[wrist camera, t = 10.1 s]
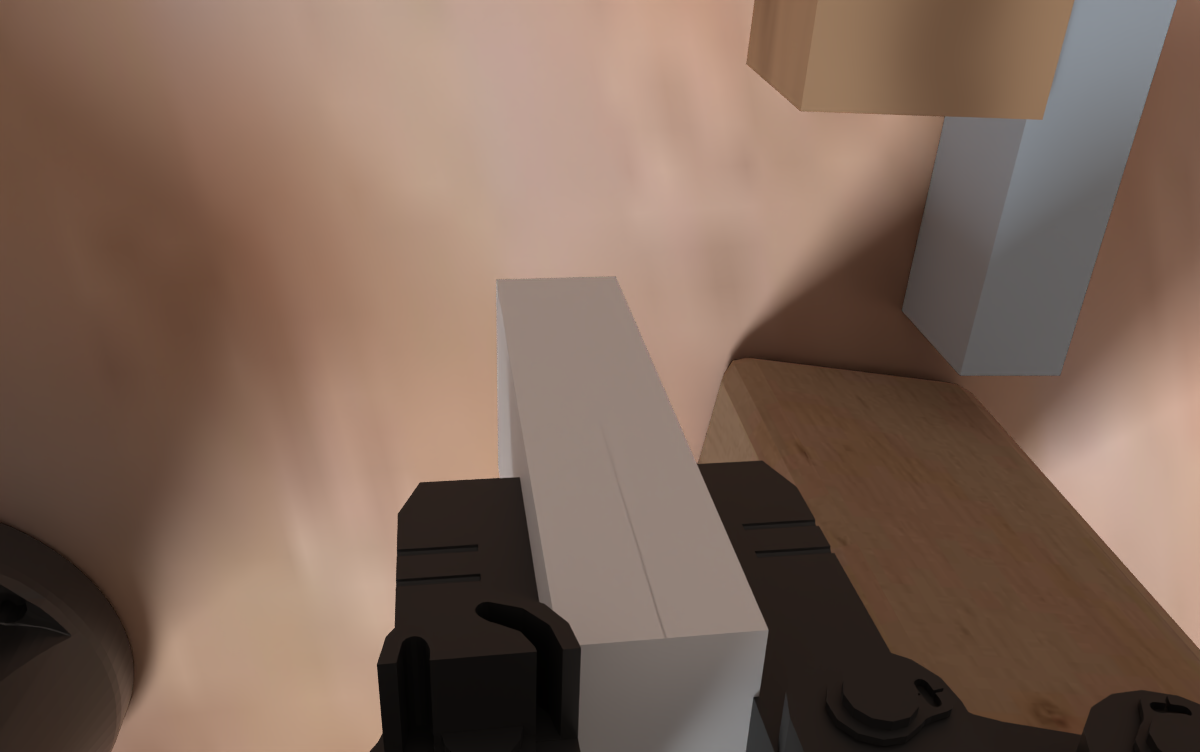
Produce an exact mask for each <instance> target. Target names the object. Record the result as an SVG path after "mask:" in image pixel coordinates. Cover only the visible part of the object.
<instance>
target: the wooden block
mask: <svg viewBox="0 0 1200 752" xmlns="http://www.w3.org/2000/svg"><path fill="white" fill-rule="evenodd" d="M761 460H762V461H764V462H765V463H766V464H768V465H769V466H770V467H771V468H773V469H774V470H775V471H777V472H778V473H779V474H781V475H782V476H783V477H785V478H786V479H787V480H788V481H790V482H791V483H792V484H794V485H795V486H796V487H797V488H798V490H799V491H800V493H801V495H802V497H803V498H804V500H805V502H806V504H807V505H808V507H809V509H810V511H811V513H812V514H813V516H814V518H815V524H816V526H819V527H820V528H821V530H822V532H823V534H824V535H825V537H826V539H827V541H828V542H829V544H830V550H831V553H835V555H836V557H837V558H838V560H839V562H840V564H841V565H842V567H843V569H844V571H845V572H846V574H847V576H848V578H849V579H850V581H851V583H852V585H853V587H854V588H855V590H856V592H857V594H858V595H859V597H860V599H861V601H862V602H863V604H864V606H865V608H866V609H867V611H868V613H869V615H870V616H871V618H872V620H873V622H874V624H875V625H876V627H877V629H878V631H879V632H880V634H881V636H882V638H883V639H884V641H885V643H886V645H887V646H888V648H889V650H890V652H891V653H893V654H896V655H899V656H903V657H906V658H909V659H912V660H913V661H915V662H917V663H918V664H920V665H921V666H923V667H925V668H926V669H928V670H929V671H931V672H933V673H934V674H936V675H937V676H939V677H941V678H942V680H943V681H944V682H945V683H946V684H947V685H948V686H949V687H950V689H951V690H952V691H953V692H954V693H955V694H956V695H957V696H958V698H959V699H960V700H961V701H962V702H963V704H964V706H965V707H966V709H967V710H968V712H970V713H972V714H974V715H978V716H982V717H986V718H990V719H994V720H998V721H1002V722H1008V723H1014V724H1020V725H1026V726H1032V727H1038V728H1044V729H1050V730H1056V731H1062V732H1068V733H1074V734H1080V735H1082V732H1083V729H1084V726H1085V723H1086V720H1087V718H1088V715H1089V712H1090V709H1091V707H1092V706H1094V705H1095V704H1097V703H1098V702H1100V701H1101V700H1103V699H1105V698H1106V697H1108V696H1109V695H1111V694H1114V693H1122V692H1130V691H1137V690H1146V691H1152V692H1158V693H1165V694H1171V695H1177V696H1181V697H1183V698H1186V699H1188V700H1191V701H1193V702H1196V703H1198V704H1200V649H1199V648H1198V647H1197V646H1196V645H1195V644H1194V643H1193V641H1192V640H1191V639H1190V638H1189V637H1188V636H1187V635H1186V634H1185V632H1184V631H1183V630H1182V629H1181V628H1180V627H1179V626H1178V625H1177V623H1176V622H1175V621H1174V620H1173V619H1172V618H1171V617H1170V616H1169V614H1168V613H1167V612H1166V611H1165V610H1164V609H1163V608H1162V607H1161V605H1160V604H1159V603H1158V602H1157V601H1156V600H1155V599H1154V598H1153V596H1152V595H1151V594H1150V593H1149V592H1148V591H1147V590H1146V589H1145V587H1144V586H1143V585H1142V584H1141V583H1140V582H1139V581H1138V580H1137V578H1136V577H1135V576H1134V575H1133V574H1132V573H1131V572H1130V571H1129V569H1128V568H1127V567H1126V566H1125V565H1124V564H1123V563H1122V562H1121V560H1120V559H1119V558H1118V557H1117V556H1116V555H1115V554H1114V553H1113V551H1112V550H1111V549H1110V548H1109V547H1108V546H1107V545H1106V544H1105V542H1104V541H1103V540H1102V539H1101V538H1100V537H1099V536H1098V535H1097V533H1096V532H1095V531H1094V530H1093V529H1092V528H1091V527H1090V526H1089V524H1088V523H1087V522H1086V521H1085V520H1084V519H1083V518H1082V517H1081V515H1080V514H1079V513H1078V512H1077V511H1076V510H1075V509H1074V508H1073V506H1072V505H1071V504H1070V503H1069V502H1068V501H1067V500H1066V499H1065V497H1064V496H1063V495H1062V494H1061V493H1060V492H1059V491H1058V490H1057V488H1056V487H1055V486H1054V485H1053V484H1052V483H1051V482H1050V481H1049V479H1048V478H1047V477H1046V476H1045V475H1044V474H1043V473H1042V472H1041V470H1040V469H1039V468H1038V467H1037V466H1036V465H1035V464H1034V463H1033V461H1032V460H1031V459H1030V458H1029V457H1028V456H1027V455H1026V454H1025V452H1024V451H1023V450H1022V449H1021V448H1020V447H1019V446H1018V445H1017V443H1016V442H1015V441H1014V440H1013V439H1012V438H1011V437H1010V436H1009V434H1008V433H1007V432H1006V431H1005V430H1004V429H1003V428H1002V427H1001V425H1000V424H999V423H998V422H997V421H996V420H995V419H994V418H993V416H992V415H991V414H990V413H989V412H988V411H987V410H986V409H985V407H984V406H983V405H982V404H981V403H980V402H979V401H978V400H977V398H976V397H975V396H974V395H973V394H972V393H971V392H969V391H967V390H966V389H964V388H963V387H961V386H959V385H958V384H953V383H948V382H941V381H933V380H925V379H917V378H909V377H901V376H893V375H885V374H877V373H869V372H860V371H852V370H844V369H836V368H828V367H820V366H812V365H804V364H796V363H788V362H780V361H772V360H764V359H755V358H743V359H738V360H733V361H732V363H731V364H730V366H729V367H728V369H727V370H726V371H725V373H724V376H723V379H722V381H721V385H720V388H719V392H718V395H717V399H716V402H715V406H714V409H713V413H712V417H711V420H710V424H709V427H708V431H707V434H706V438H705V441H704V445H703V448H702V452H701V455H700V459H699V462H698V464H706V463H724V462H743V461H761Z"/></svg>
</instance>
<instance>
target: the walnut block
mask: <svg viewBox="0 0 1200 752" xmlns="http://www.w3.org/2000/svg"><path fill="white" fill-rule="evenodd" d="M1073 4H1074V0H755V1H754V9H753V17H752V24H751V32H750V40H749V48H748V55H747V63H746V64H747V65H748V66H749V67H751V68H752V69H753V70H754V71H755V72H756V73H757V74H759V75H760V76H761V77H762V78H763V79H764V80H765V81H767V82H768V83H769V84H770V85H771V86H772V87H773V88H775V89H776V90H777V91H778V92H779V93H780V94H781V95H783V96H784V97H785V98H786V99H787V100H788V101H789V102H791V103H792V104H793V105H794V106H795V107H796V108H797V109H799V110H800V111H807V112H835V113H864V114H892V115H920V116H948V117H976V118H1004V119H1032V120H1043V116H1044V112H1045V108H1046V105H1047V101H1048V97H1049V93H1050V90H1051V86H1052V82H1053V79H1054V75H1055V71H1056V67H1057V64H1058V60H1059V56H1060V52H1061V49H1062V45H1063V41H1064V37H1065V34H1066V30H1067V26H1068V22H1069V19H1070V15H1071V11H1072V7H1073Z"/></svg>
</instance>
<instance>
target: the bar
mask: <svg viewBox="0 0 1200 752" xmlns="http://www.w3.org/2000/svg"><path fill="white" fill-rule="evenodd" d="M1176 2H1177V0H1074V4H1073V7H1072V11H1071V15H1070V19H1069V22H1068V26H1067V30H1066V34H1065V37H1064V41H1063V45H1062V49H1061V52H1060V56H1059V60H1058V64H1057V67H1056V71H1055V75H1054V79H1053V82H1052V86H1051V90H1050V93H1049V97H1048V101H1047V105H1046V108H1045V112H1044V116H1043V120H1032V119H1004V118H976V117H948V116H945V119H944V123H943V128H942V132H941V137H940V141H939V146H938V150H937V155H936V159H935V164H934V168H933V173H932V177H931V182H930V186H929V191H928V195H927V200H926V204H925V209H924V213H923V217H922V222H921V226H920V231H919V235H918V240H917V244H916V249H915V253H914V258H913V262H912V267H911V271H910V276H909V280H908V285H907V289H906V294H905V298H904V303H903V307H902V311H903V313H904V314H905V315H906V316H907V317H908V318H909V319H910V320H911V322H912V323H913V324H914V325H915V326H916V327H917V328H918V329H919V330H920V332H921V333H922V334H923V335H924V336H925V337H926V338H927V339H928V341H929V342H930V343H931V344H932V345H933V346H934V347H935V348H936V349H937V351H938V352H939V353H940V354H941V355H942V356H943V357H944V358H945V360H946V361H947V362H948V363H949V364H950V365H951V366H952V367H953V368H954V370H955V371H956V372H957V373H958V374H959V375H960V376H1060V374H1061V371H1062V368H1063V365H1064V361H1065V358H1066V355H1067V352H1068V348H1069V345H1070V342H1071V339H1072V336H1073V332H1074V329H1075V326H1076V323H1077V320H1078V316H1079V313H1080V310H1081V307H1082V304H1083V300H1084V297H1085V294H1086V291H1087V288H1088V284H1089V281H1090V278H1091V275H1092V271H1093V268H1094V265H1095V262H1096V259H1097V255H1098V252H1099V249H1100V246H1101V243H1102V239H1103V236H1104V233H1105V230H1106V227H1107V223H1108V220H1109V217H1110V214H1111V211H1112V207H1113V204H1114V201H1115V198H1116V195H1117V191H1118V188H1119V185H1120V182H1121V178H1122V175H1123V172H1124V169H1125V166H1126V162H1127V159H1128V156H1129V153H1130V150H1131V146H1132V143H1133V140H1134V137H1135V134H1136V130H1137V127H1138V124H1139V121H1140V118H1141V114H1142V111H1143V108H1144V105H1145V101H1146V98H1147V95H1148V92H1149V89H1150V85H1151V82H1152V79H1153V76H1154V73H1155V69H1156V66H1157V63H1158V60H1159V57H1160V53H1161V50H1162V47H1163V44H1164V41H1165V37H1166V34H1167V31H1168V28H1169V25H1170V21H1171V18H1172V15H1173V12H1174V8H1175V5H1176Z"/></svg>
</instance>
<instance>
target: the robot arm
mask: <svg viewBox="0 0 1200 752" xmlns="http://www.w3.org/2000/svg"><path fill="white" fill-rule="evenodd" d="M496 306H497V392H498V467H499V475H500V478H493V479H475V480H457V481H438V482H420V483H419V485H418V486H417V488H416V489H415V490H414V492H413V493H412V495H411V496H410V498H409V499H408V500H407V502H406V503H405V505H404V506H403V508H402V509H401V510H400V512H399V513H398V530H397V567H396V603H395V628H394V629H393V630H392V631H391V632H390V633H389V634H388V635H387V636H386V638H385V641H384V645H383V648H382V651H381V654H380V657H379V660H378V663H377V670H378V682H379V694H380V706H381V718H382V730H383V734H382V735H381V737H380V739H379V741H378V743H377V744H376V745H375V746H374V747H373V748H372V750H371V751H370V752H1200V704H1198V703H1196V702H1193V701H1191V700H1188V699H1186V698H1183V697H1181V696H1177V695H1171V694H1165V693H1158V692H1152V691H1146V690H1137V691H1130V692H1122V693H1114V694H1111V695H1109V696H1108V697H1106V698H1105V699H1103V700H1101V701H1100V702H1098V703H1097V704H1095V705H1094V706H1092V707H1091V709H1090V712H1089V715H1088V718H1087V720H1086V723H1085V726H1084V729H1083V732H1082V735H1080V734H1074V733H1068V732H1062V731H1056V730H1050V729H1044V728H1038V727H1032V726H1026V725H1020V724H1014V723H1008V722H1002V721H998V720H994V719H990V718H986V717H982V716H978V715H974V714H972V713H970V712H968V710H967V709H966V707H965V706H964V704H963V702H962V701H961V700H960V699H959V698H958V696H957V695H956V694H955V693H954V692H953V691H952V690H951V689H950V687H949V686H948V685H947V684H946V683H945V682H944V681H943V680H942V678H941V677H939V676H937V675H936V674H934V673H933V672H931V671H929V670H928V669H926V668H925V667H923V666H921V665H920V664H918V663H917V662H915V661H913V660H912V659H909V658H906V657H903V656H899V655H896V654H893V653H891V652H890V650H889V648H888V646H887V645H886V643H885V641H884V639H883V638H882V636H881V634H880V632H879V631H878V629H877V627H876V625H875V624H874V622H873V620H872V618H871V616H870V615H869V613H868V611H867V609H866V608H865V606H864V604H863V602H862V601H861V599H860V597H859V595H858V594H857V592H856V590H855V588H854V587H853V585H852V583H851V581H850V579H849V578H848V576H847V574H846V572H845V571H844V569H843V567H842V565H841V564H840V562H839V560H838V558H837V557H836V555H835V553H831V550H830V544H829V542H828V541H827V539H826V537H825V535H824V534H823V532H822V530H821V528H820V527H819V526H816V524H815V518H814V516H813V514H812V513H811V511H810V509H809V507H808V505H807V504H806V502H805V500H804V498H803V497H802V495H801V493H800V491H799V490H798V488H797V487H796V486H795V485H794V484H792V483H791V482H790V481H788V480H787V479H786V478H785V477H783V476H782V475H781V474H779V473H778V472H777V471H775V470H774V469H773V468H771V467H770V466H769V465H768V464H766V463H765V462H764V461H762V460H761V461H743V462H724V463H706V464H697V463H696V461H695V459H694V456H693V454H692V452H691V450H690V447H689V445H688V443H687V440H686V438H685V436H684V433H683V431H682V429H681V426H680V424H679V422H678V419H677V417H676V415H675V413H674V410H673V408H672V406H671V403H670V401H669V399H668V396H667V394H666V392H665V389H664V387H663V385H662V383H661V380H660V378H659V376H658V373H657V371H656V369H655V366H654V364H653V362H652V359H651V357H650V355H649V352H648V350H647V348H646V346H645V343H644V341H643V339H642V336H641V334H640V332H639V329H638V327H637V325H636V322H635V320H634V318H633V315H632V313H631V311H630V309H629V306H628V304H627V302H626V299H625V297H624V295H623V292H622V290H621V288H620V285H619V283H618V281H617V279H616V276H611V277H573V278H535V279H496ZM133 681H134V665H133V658H132V652H131V648H130V644H129V641H128V638H127V635H126V632H125V630H124V628H123V626H122V624H121V621H120V620H119V618H118V616H117V614H116V613H115V611H114V609H113V608H112V606H111V605H110V603H109V602H108V601H107V599H106V598H105V597H104V596H103V594H102V593H101V592H100V591H99V589H98V588H97V587H96V586H95V585H94V584H93V583H92V582H91V581H90V580H89V579H88V578H87V577H86V576H85V575H84V574H83V573H82V572H81V571H80V570H79V569H77V568H76V567H75V566H74V565H72V564H71V563H70V562H69V561H68V560H66V559H65V558H63V557H62V556H61V555H59V554H58V553H56V552H55V551H54V550H52V549H50V548H49V547H47V546H46V545H44V544H42V543H41V542H39V541H37V540H35V539H34V538H32V537H30V536H28V535H26V534H24V533H22V532H20V531H18V530H16V529H14V528H12V527H9V526H7V525H4V524H2V523H0V752H111V751H112V749H113V746H114V744H115V742H116V739H117V736H118V733H119V731H120V728H121V725H122V722H123V719H124V717H125V714H126V711H127V708H128V705H129V702H130V699H131V695H132V689H133Z"/></svg>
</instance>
